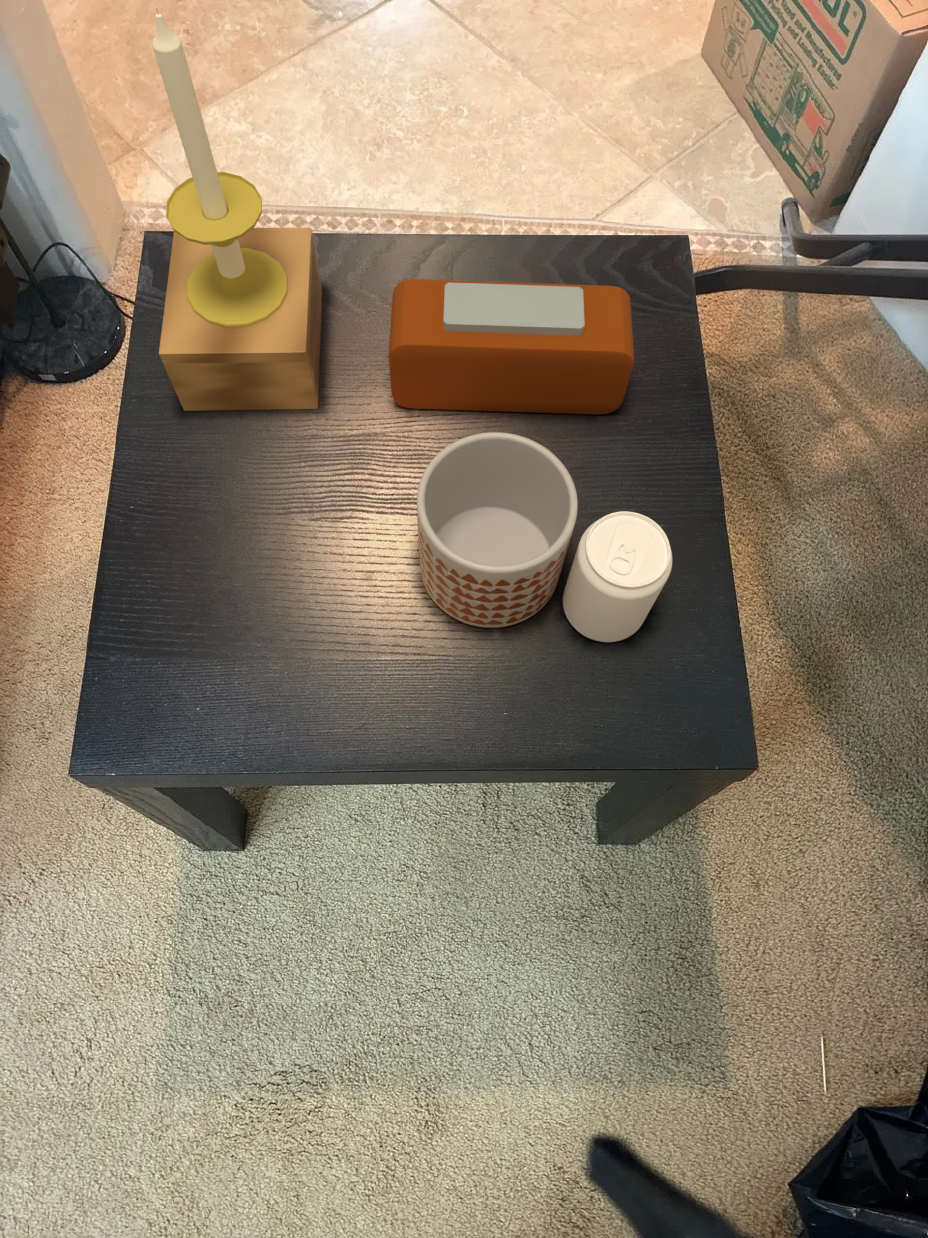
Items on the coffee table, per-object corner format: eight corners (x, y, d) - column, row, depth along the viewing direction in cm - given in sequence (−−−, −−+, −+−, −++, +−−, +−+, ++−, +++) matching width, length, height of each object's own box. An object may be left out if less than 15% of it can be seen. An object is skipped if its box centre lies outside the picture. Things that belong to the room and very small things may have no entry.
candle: (224, 235, 89) (140, -55, 64) (307, 273, 87) (255, -10, 62) (166, 302, 85) (53, 22, 61) (251, 342, 84) (172, 72, 59)
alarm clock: (615, 353, 96) (636, 275, 85) (618, 416, 92) (641, 344, 82) (396, 346, 95) (391, 267, 85) (392, 409, 92) (386, 335, 82)
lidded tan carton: (184, 410, 91) (158, 353, 83) (196, 292, 97) (173, 227, 89) (318, 409, 92) (305, 351, 84) (322, 291, 98) (311, 227, 90)
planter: (494, 658, 81) (503, 603, 70) (390, 567, 85) (382, 500, 73) (588, 563, 86) (611, 496, 74) (485, 480, 89) (491, 403, 77)
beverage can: (657, 587, 85) (689, 528, 74) (627, 658, 82) (657, 607, 71) (580, 555, 86) (601, 492, 75) (548, 624, 83) (565, 568, 72)
